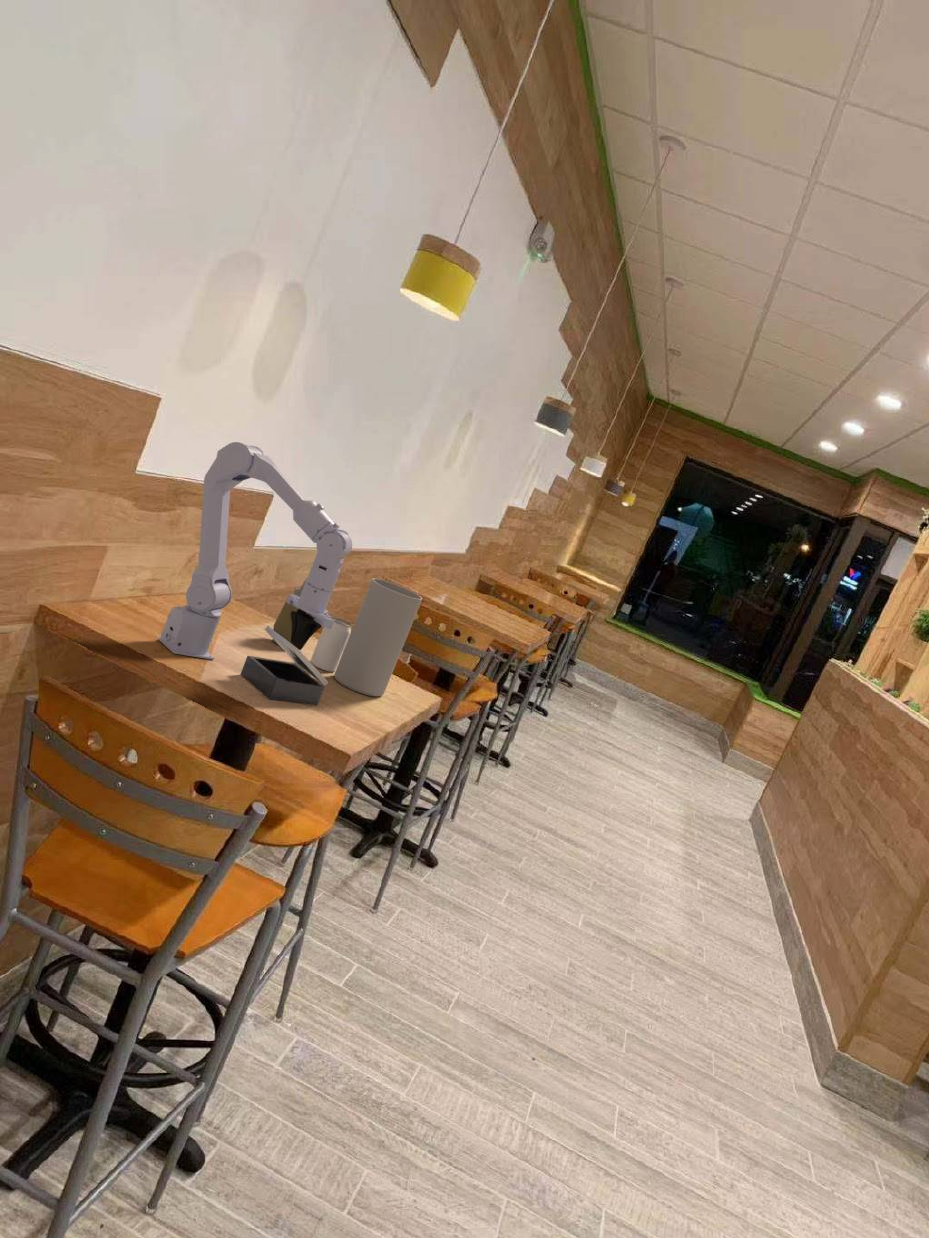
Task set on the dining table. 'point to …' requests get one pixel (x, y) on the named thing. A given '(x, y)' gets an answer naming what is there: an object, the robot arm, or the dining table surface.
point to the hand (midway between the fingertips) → (295, 648)
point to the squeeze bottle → (286, 617)
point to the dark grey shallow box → (282, 681)
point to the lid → (296, 655)
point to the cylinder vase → (377, 637)
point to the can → (331, 645)
